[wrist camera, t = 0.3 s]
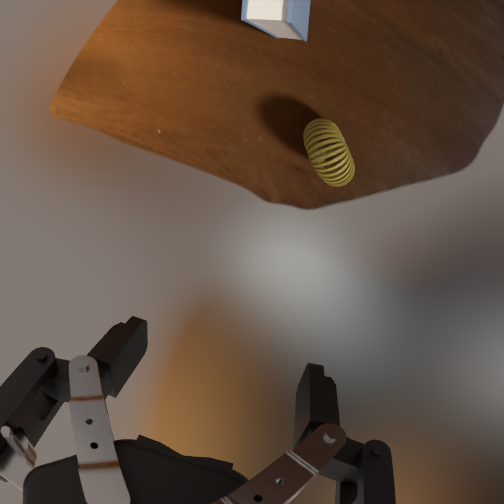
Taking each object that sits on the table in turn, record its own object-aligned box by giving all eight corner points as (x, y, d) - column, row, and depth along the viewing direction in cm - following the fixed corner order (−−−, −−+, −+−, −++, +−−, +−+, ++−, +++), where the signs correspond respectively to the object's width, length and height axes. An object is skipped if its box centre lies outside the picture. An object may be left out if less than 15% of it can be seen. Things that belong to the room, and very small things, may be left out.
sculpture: (300, 121, 33) (292, 135, 27) (329, 108, 31) (330, 119, 25) (328, 176, 36) (327, 203, 30) (357, 165, 34) (363, 190, 28)
